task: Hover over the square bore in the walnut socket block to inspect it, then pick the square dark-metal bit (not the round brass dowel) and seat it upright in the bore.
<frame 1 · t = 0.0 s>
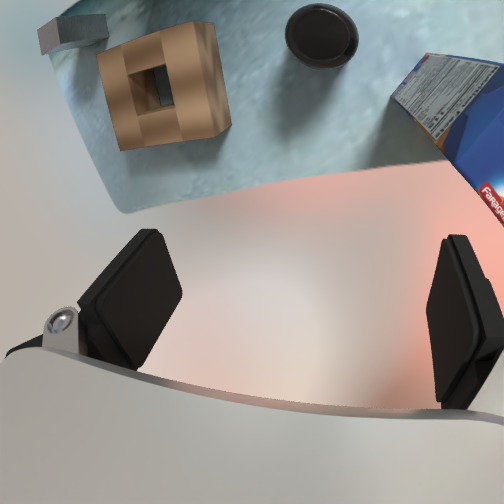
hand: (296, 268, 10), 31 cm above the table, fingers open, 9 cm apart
socket block: (174, 83, 37), on the table
supplement bottle: (325, 39, 30), on the table
square bit: (97, 29, 34), on the table
juice carton: (443, 107, 30), on the table
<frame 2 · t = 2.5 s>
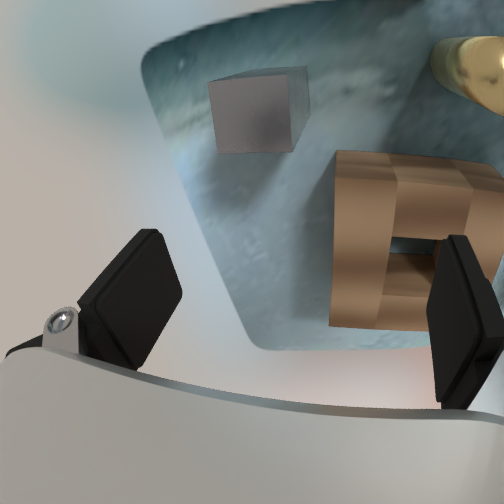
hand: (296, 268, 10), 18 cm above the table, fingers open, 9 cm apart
socket block: (410, 228, 27), on the table
round bit: (456, 65, 17), on the table
square bit: (283, 91, 23), on the table
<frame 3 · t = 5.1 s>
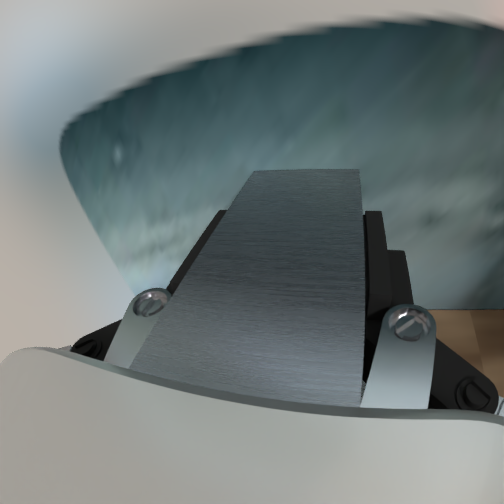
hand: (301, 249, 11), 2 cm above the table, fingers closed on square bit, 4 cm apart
socket block: (470, 382, 16), on the table
square bit: (309, 216, 13), on the table, touching gripper
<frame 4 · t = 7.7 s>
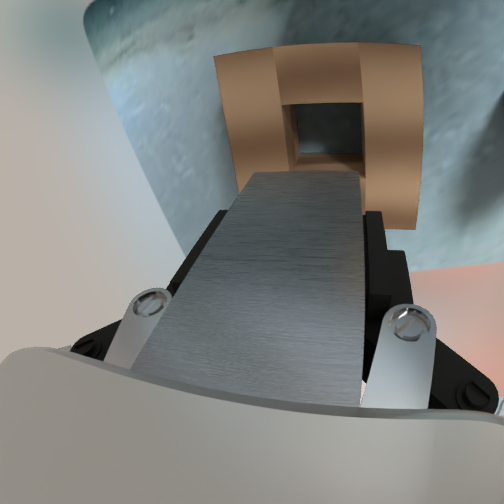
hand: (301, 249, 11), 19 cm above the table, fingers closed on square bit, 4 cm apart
socket block: (328, 122, 26), on the table
square bit: (309, 217, 13), point 17 cm above the table, touching gripper
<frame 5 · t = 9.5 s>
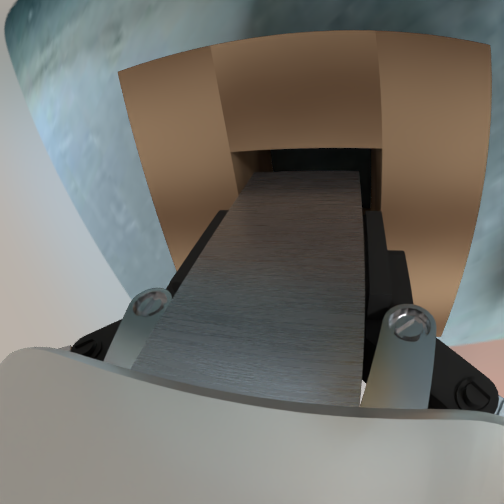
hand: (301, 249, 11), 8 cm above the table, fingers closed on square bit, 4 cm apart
socket block: (321, 163, 17), on the table
square bit: (309, 217, 13), point 6 cm above the table, touching gripper
when the fingers open (7 cm above the table, at t = 10.6 s): square bit drops 4 cm, resting in socket block.
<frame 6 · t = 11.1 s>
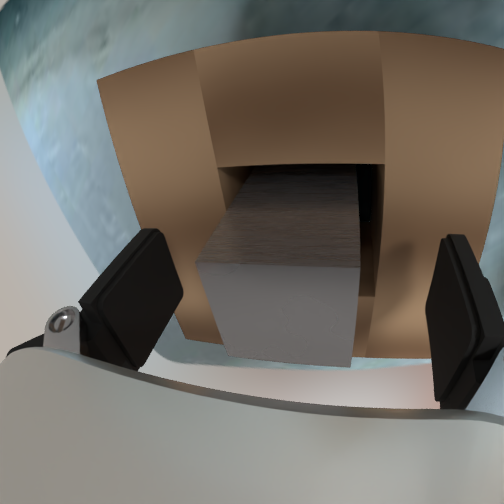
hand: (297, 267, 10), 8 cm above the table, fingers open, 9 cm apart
socket block: (318, 174, 16), on the table
square bit: (316, 172, 16), resting in socket block
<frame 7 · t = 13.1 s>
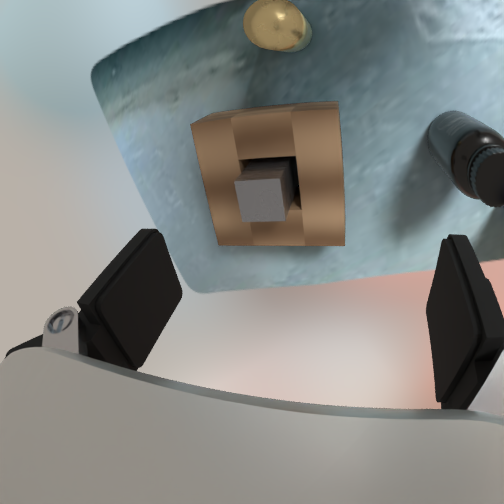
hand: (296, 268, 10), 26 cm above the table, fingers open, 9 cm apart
socket block: (281, 165, 36), on the table
supplement bottle: (453, 139, 28), on the table
round bit: (289, 32, 27), on the table
square bit: (280, 164, 36), resting in socket block
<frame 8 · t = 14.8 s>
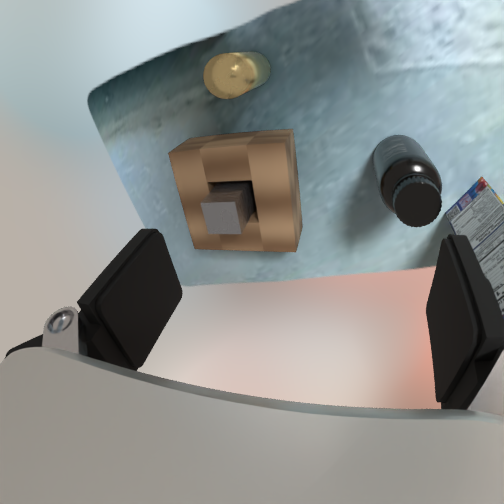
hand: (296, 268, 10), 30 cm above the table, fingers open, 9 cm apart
socket block: (246, 182, 43), on the table
supplement bottle: (398, 159, 35), on the table
round bit: (251, 69, 33), on the table
square bit: (246, 181, 43), resting in socket block
juice carton: (485, 220, 36), on the table
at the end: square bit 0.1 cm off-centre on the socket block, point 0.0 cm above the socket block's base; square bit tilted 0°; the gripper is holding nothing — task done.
